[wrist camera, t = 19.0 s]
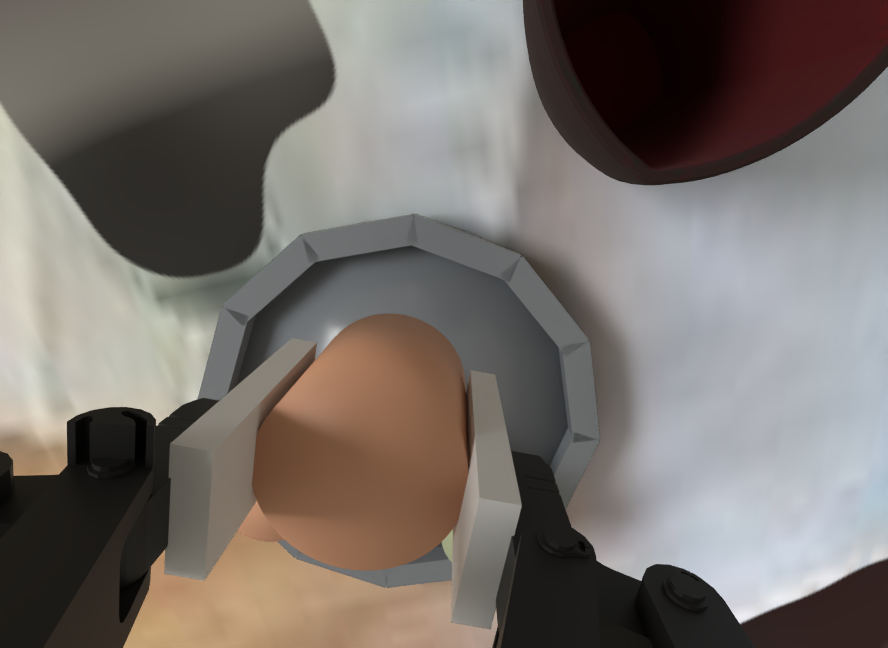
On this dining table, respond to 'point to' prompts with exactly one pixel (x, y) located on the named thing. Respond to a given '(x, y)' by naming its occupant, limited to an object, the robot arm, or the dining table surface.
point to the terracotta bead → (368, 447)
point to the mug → (698, 77)
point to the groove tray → (440, 305)
